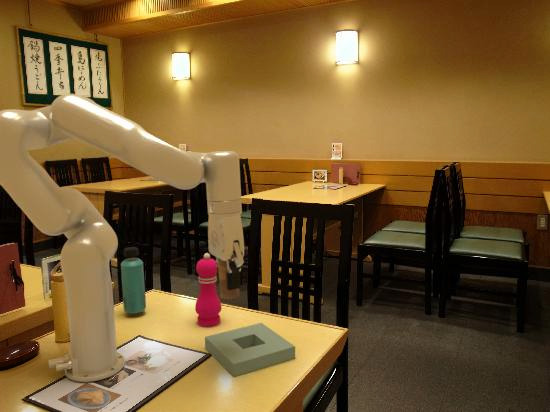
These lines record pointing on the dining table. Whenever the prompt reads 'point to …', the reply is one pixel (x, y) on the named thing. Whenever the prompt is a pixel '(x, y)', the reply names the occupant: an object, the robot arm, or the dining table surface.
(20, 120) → the robot arm
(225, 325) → the dining table surface
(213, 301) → the pepper mill
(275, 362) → the socket board
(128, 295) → the beverage bottle
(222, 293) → the walnut peg
